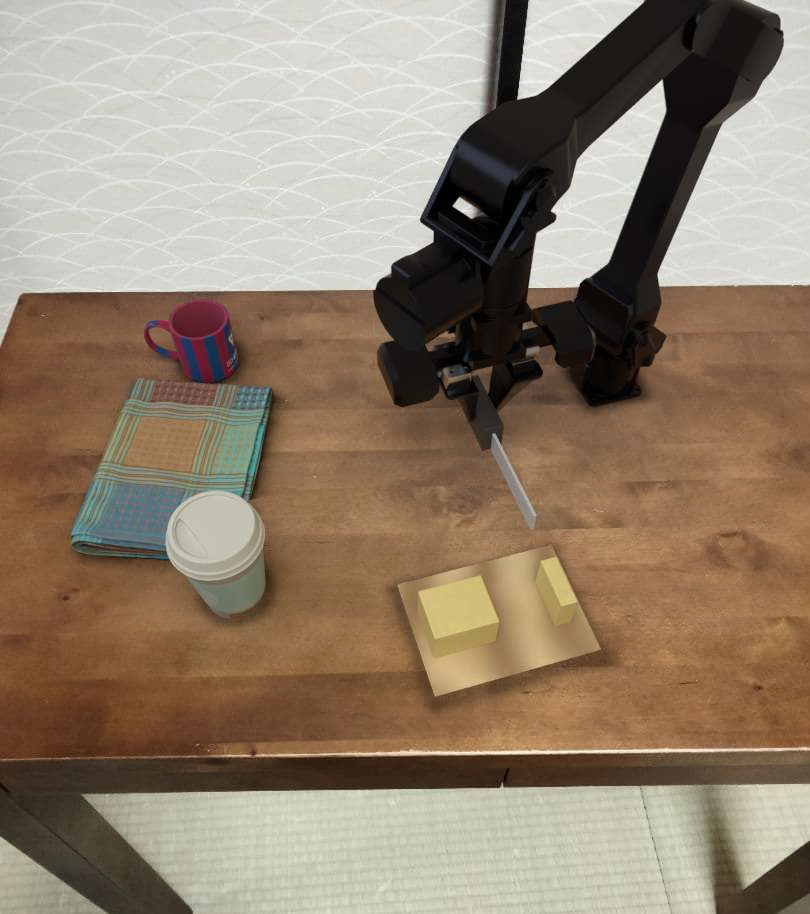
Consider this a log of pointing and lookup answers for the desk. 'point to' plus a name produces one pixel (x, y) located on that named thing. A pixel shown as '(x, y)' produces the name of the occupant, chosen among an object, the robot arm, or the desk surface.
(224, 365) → the cup
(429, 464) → the desk surface
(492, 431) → the knife
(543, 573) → the butter slice
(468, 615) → the butter block
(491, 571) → the board
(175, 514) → the coffee cup
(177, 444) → the dish towel
